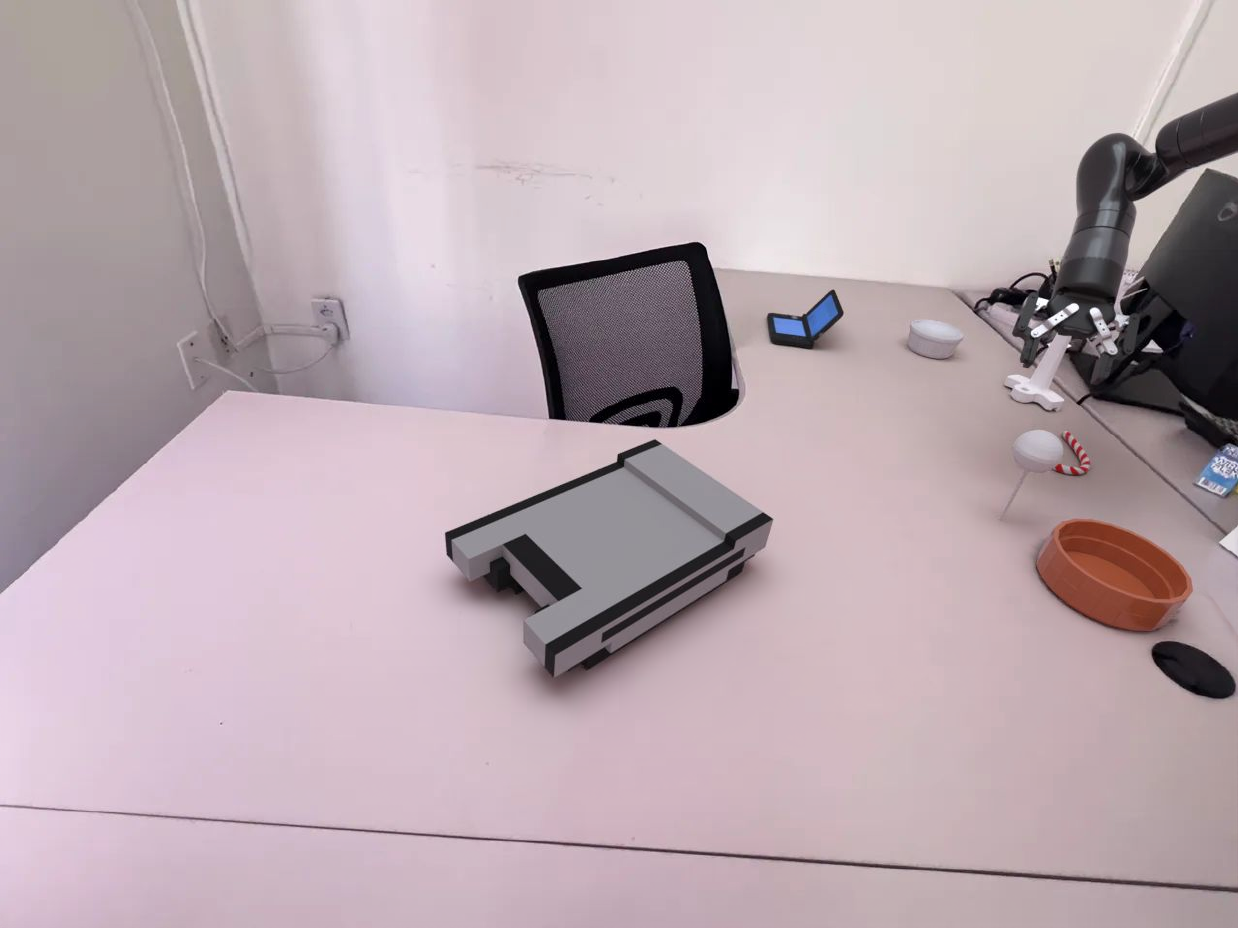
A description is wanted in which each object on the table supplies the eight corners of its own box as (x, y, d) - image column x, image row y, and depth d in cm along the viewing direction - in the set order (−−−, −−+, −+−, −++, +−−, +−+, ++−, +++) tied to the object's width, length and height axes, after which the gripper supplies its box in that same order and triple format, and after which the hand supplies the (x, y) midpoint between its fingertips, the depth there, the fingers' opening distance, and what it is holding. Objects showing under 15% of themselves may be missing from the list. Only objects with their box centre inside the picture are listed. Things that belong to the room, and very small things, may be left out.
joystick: (1063, 410, 127) (1117, 313, 116) (1036, 414, 125) (1088, 315, 113) (1017, 383, 136) (1063, 290, 124) (991, 386, 133) (1035, 292, 122)
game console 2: (448, 577, 76) (444, 524, 72) (648, 486, 95) (655, 439, 90) (552, 701, 64) (555, 646, 59) (758, 568, 82) (773, 518, 78)
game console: (765, 317, 154) (774, 280, 149) (824, 325, 153) (834, 288, 148) (769, 344, 141) (779, 304, 136) (833, 353, 140) (845, 313, 135)
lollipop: (987, 501, 99) (1031, 416, 91) (1027, 520, 96) (1077, 435, 87) (972, 517, 95) (1016, 431, 87) (1013, 538, 92) (1064, 450, 84)
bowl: (1140, 564, 90) (1162, 534, 87) (1188, 648, 78) (1216, 616, 75) (1022, 538, 92) (1040, 507, 89) (1051, 614, 80) (1073, 583, 77)
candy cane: (1087, 435, 117) (1093, 476, 106) (1084, 441, 117) (1089, 482, 106) (1040, 422, 119) (1040, 460, 108) (1036, 428, 120) (1037, 466, 109)
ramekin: (910, 335, 152) (918, 314, 149) (960, 351, 147) (969, 329, 144) (896, 350, 145) (904, 327, 142) (948, 366, 140) (958, 343, 137)
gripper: (1046, 245, 90) (1014, 350, 88) (1164, 267, 86) (1135, 378, 84) (1026, 272, 97) (996, 370, 95) (1134, 294, 93) (1106, 397, 91)
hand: (1061, 374), depth 89 cm, fingers open, 8 cm apart
